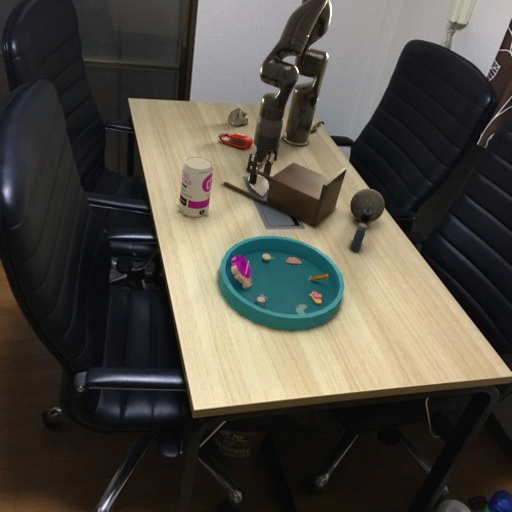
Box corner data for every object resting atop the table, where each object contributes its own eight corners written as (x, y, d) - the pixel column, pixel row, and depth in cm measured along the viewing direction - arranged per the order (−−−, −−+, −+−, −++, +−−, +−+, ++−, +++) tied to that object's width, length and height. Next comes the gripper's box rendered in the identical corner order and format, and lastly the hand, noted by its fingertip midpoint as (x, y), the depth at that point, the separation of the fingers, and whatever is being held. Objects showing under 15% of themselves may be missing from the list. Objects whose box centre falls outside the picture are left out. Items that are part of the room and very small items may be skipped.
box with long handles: (249, 169, 168) (256, 129, 159) (335, 208, 157) (347, 168, 149) (223, 185, 157) (229, 144, 148) (313, 228, 146) (325, 186, 138)
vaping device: (361, 243, 144) (374, 207, 137) (358, 253, 140) (371, 217, 133) (352, 240, 144) (364, 204, 137) (349, 250, 140) (361, 214, 133)
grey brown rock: (227, 121, 194) (229, 104, 190) (246, 122, 197) (249, 105, 193) (229, 126, 191) (232, 109, 187) (249, 127, 194) (252, 109, 190)
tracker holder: (242, 132, 186) (260, 137, 180) (240, 144, 188) (257, 150, 181) (216, 129, 178) (233, 135, 171) (214, 142, 180) (231, 148, 173)
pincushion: (244, 176, 163) (247, 160, 160) (262, 177, 165) (265, 161, 162) (252, 196, 154) (254, 180, 151) (271, 197, 156) (274, 181, 153)
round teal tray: (219, 242, 134) (221, 224, 130) (329, 252, 138) (334, 235, 134) (218, 325, 110) (221, 306, 107) (351, 335, 114) (358, 316, 111)
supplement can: (213, 208, 146) (219, 162, 137) (198, 221, 140) (204, 173, 130) (188, 198, 148) (193, 152, 139) (173, 211, 142) (176, 163, 132)
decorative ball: (349, 206, 159) (358, 178, 153) (380, 216, 157) (391, 188, 151) (343, 222, 151) (352, 193, 145) (375, 232, 150) (386, 204, 144)
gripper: (267, 142, 142) (257, 192, 151) (291, 128, 152) (280, 176, 162) (244, 132, 144) (236, 182, 154) (269, 120, 154) (261, 167, 164)
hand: (259, 179), depth 158 cm, fingers open, 8 cm apart
